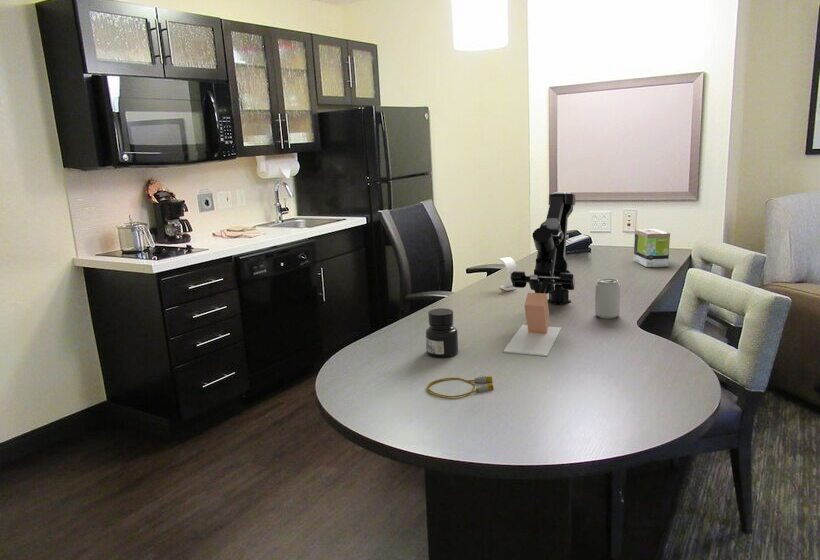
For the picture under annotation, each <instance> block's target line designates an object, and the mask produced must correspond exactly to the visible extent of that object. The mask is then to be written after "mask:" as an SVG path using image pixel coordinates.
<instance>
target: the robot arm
mask: <svg viewBox="0 0 820 560" xmlns="http://www.w3.org/2000/svg"><path fill="white" fill-rule="evenodd" d="M548 205H549V206H548V211H547V215H546V218H545V221H543V222H541V224H540V226H539V227H538V228H536V229H535V230H534V231H533V232H532V239H533V243H534V247H535V250H536V251H537V253H536V258H535V266H534V270H533V274H530V275H526V273H525V271H521V270H520V271H519V270H518V271H513V272H512V273H511V277H510V278H511V281H512V284H513V287H516V288H517V289H519V288H520V289H521V288H522V289H523V288H525V287H526V286H527V284H529V288H530V290H532V291H534V293H545V294H547V295H548V298H547V300H548V303H550V304H552V305H553V304H554V305H558V306H560V305H563V304H567V303H571V302H572V300H571V299H569V298H570V296H569V292H570V291H574V290H575V286H576V282H575V281H576V280H575V275H574V274H573V273H571V269H570V265H569V264H568V261H567V260H566V249H567V237H568V235H567V232H568V222H569V221H568V219H569V216H571V215H572V213H573V211H574V206H576V195H575V194H574V193H573V192H572V191H566V192H565V191H561V192H558V191H556V192H555V191H554V192H551V193H549V194H548Z"/></svg>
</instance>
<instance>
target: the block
mask: <svg viewBox="0 0 820 560" xmlns="http://www.w3.org/2000/svg"><path fill="white" fill-rule="evenodd" d="M547 299H548V294H545V293H535V292H527V295H526V298H525V302H524V312H525V320H526V325H527V327H528V332H531V333H544V334H547V331H548V327H550V322H551V321H550V312H549V302H548V300H547Z"/></svg>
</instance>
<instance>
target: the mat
mask: <svg viewBox="0 0 820 560" xmlns="http://www.w3.org/2000/svg"><path fill="white" fill-rule="evenodd" d="M561 331H562V327H558V326H548V331H547V334H544V333H531V332H528V327H527V324H521V326H520V327H519V329H518V330H517V332H516V333H515V335H513V337H512V338H511V340H510V341H509V342H508V344H507V345H506V346H505V348H504V349H503V351H502V352H503V353H507V354H517V355H530V356H539V357H540V356H541V357H548V356H549V354H550V352H551V350H552V348H553V346H554V344H555V343H556V340H557V339H558V336H559V335H560V333H561Z"/></svg>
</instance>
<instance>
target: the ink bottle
mask: <svg viewBox="0 0 820 560" xmlns="http://www.w3.org/2000/svg"><path fill="white" fill-rule="evenodd" d="M427 315H428V316H427V317H428V324H429V325H428V326H429V327H427V329H426V330H425V345H426V346H425V347H426V348H425V349H426V354H427V355H429V356H431V357H432V358H440V359H442V358H449V357H452V356H453V357H454V356H455V355H457V354H458V353H459V339H458V338H459V336H458V335H459V333H458V329H457V328H456V327H455V326H454V311H453V309H450V308H445V307H443V308H441V307H440V308H434V309H430V310H429V311H428V313H427Z"/></svg>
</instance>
